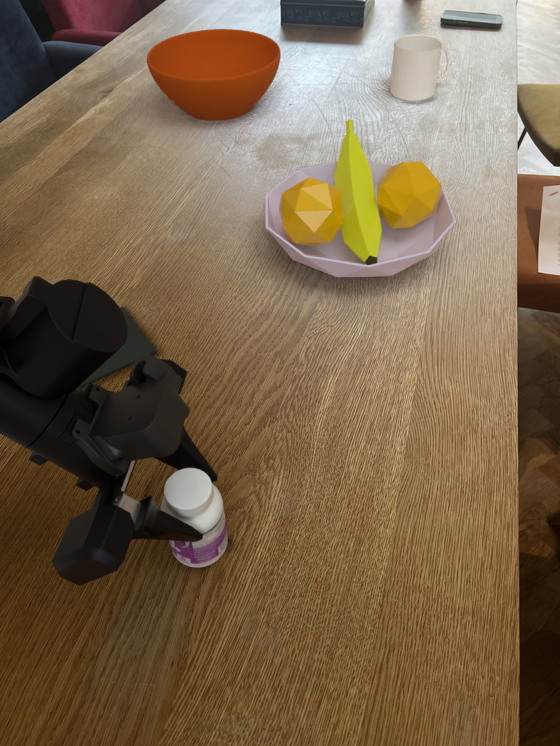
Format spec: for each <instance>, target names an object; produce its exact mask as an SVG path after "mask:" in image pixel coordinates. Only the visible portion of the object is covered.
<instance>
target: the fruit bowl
mask: <svg viewBox="0 0 560 746" xmlns="http://www.w3.org/2000/svg"><path fill="white" fill-rule="evenodd" d="M345 130H346V134H345V135H344V136H343V140H342V144H341V147H340V151H339V155H338V159H337V161H332V162H328V163H322V164H317V165H313V166H308V167H302V168H298V169H296V170H295V171H294V172H292V173H291V174H290V175H289V176H287V177H286V178H284V179H283V180H281V182H279V183H278V184H277V185H275V186H274V187H273V188H271V189H270V190H269V191H267V192H266V193H265V194H264V195H265V197H264V198H265V229H266V230H267V231H268V232H269V234H270V235H271V236H272V237H273V238H274V239H275V240H276V242H277V244H279V245H280V246H281V248H282V249H283V250H284V251H285V253H286V254H287V255H288V257H290V259H291V260H292V261H294V262H297V263H299V264H302V265H305V266H306V267H309V268H311V269H313V270H314V269H315V270H317V271H319V272H322V273H325V274H327V275H329V276H331V277H334V278H361V277H362V278H366V277H367V278H370V277H373V278H374V277H392V276H394V275H396V274H398V273H400V272H402V271H404V270H406V269H408V268H409V267H412V266H414V265H415V264H418V263H419V262H421V261H424V260H425V259H427V258H429V257H430V256H433V255H434V254H435V253H437V250H438V249H439V248H440V246H441V244H442V243H443V241H444V240H445V239H446V237H447V236H448V234H450V231H451V230H452V228H454V226H455V224H456V223H457V219H456V217H455V214H454V211H453V209H452V206H451V204H450V201H449V199H448V195H447V193H446V190H445V188H444V187H442V184H441V182H440V181H439V180H438V178H437V177H436V176H435V175H434V173H433V172H432V171H431V170H430V169H429V168H428V166H427V165H426V163H424V161H403V162H400V163H398V164H397V163H396V164H391V163H381V162H374V161H369V160H368V158H367V156H366V154H365V151H364V149H363V147H362V144H361V142H360V140H359V138H358V136H357V133H355V131H354V119H347V120H345Z"/></svg>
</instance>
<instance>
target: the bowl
mask: <svg viewBox="0 0 560 746" xmlns="http://www.w3.org/2000/svg"><path fill="white" fill-rule="evenodd" d="M281 54H282V52H281V47H280V46H279V44H278V43H277V42H276V41H275V40H274V39H272V38H270V37H269V36H266V35H265V34H262V33H258V32H256V31H251V30H243V29H233V28H232V29H231V28H211V29H201V30H195V31H189V32H188V31H187V32H183V33H180V34H178V35H173V36H171V37H168V38H166V39H164V40H162V41H160V42H158V43H156V44H155V45H154V46H153V47H152V48H151V49H150V50H148V53H147V55H146V65H147V68H148V70H149V74H150V75H151V77H152V79H153V81H154V82H155V84H156V85H157V87H158V88H159V89H160V91H161V92H162V93H163V94H164V95H165V96H166V97H167V98H168V99H169V100H170V101H171V102H172V103H174V104H175V105H176V106H177V107H179V108H180V109H181V110H183V112H184V113H186V114H187V115H188V116H189V117H192V118H194V119H197V120H201V121H207V122H221V121H229V120H233V119H237V118H240V117H243V116H244V115H246V114H247V113H249V112H250V111H251V110H252V109H253V108H254V107H255V106H256V104H257V103H258V102H259V101H260V100H261V99H262V98H263V96H264V95H265V94H266V93H267V91H268V90H269V88H270V87H271V85H272V83H273V82H274V79H275V78H276V76H277V73H278V70H279V67H280V62H281V57H282V56H281Z"/></svg>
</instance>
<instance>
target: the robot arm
mask: <svg viewBox="0 0 560 746" xmlns="http://www.w3.org/2000/svg"><path fill="white" fill-rule="evenodd" d="M120 308H121V307H120V306H119V305H118V303H117V302H116V301H115V299H113V297H112V296H110V295H109V294H108V292H106V291H105V290H104V289H102V288H101V287H100V286H98V285H96V284H94V283H93V282H90V281H87V282H84V281H81V280H79V279H71V278H68V279H67V278H66V279H60V280H59V281H57V282H55V283H51V282H50V281H48V280H46V279H44V278H43V277H41V276H39V275H34V276H32V278H31V279H30V280H29V281H28V282H27V283H26V285H25V286H24V287H23V289H22V293H21V294H20V296H19V298H18V299H17V300H16V299H15V298H13V297H12V296H7V295H6V296H5V295H0V435H2V436H3V437H5V438H6V439H9V440H11V441H13V442H14V443H16V444H18V445H20V446H22V447H23V448H24V449H27V450H29V451H30V452H31V454H30V455H29V458H28V461H30V462H32V463H34V464H35V465H37V466H39V467H41V466H43V465H44V464H45V463H47V462H50V463H51V464H54V465H56V466H57V467H59V468H60V469H63V470H65V471H66V472H68V473H70V474H72V475H73V476H75V477H77V480H76V482H75V486H76V487H78V488H80V489H81V490H83V491H85V492H88V491H89V490H91V489H93V488H97V489H98V491H97V493H96V496H95V498H94V501H93V503H92V505H91V508H90V509H88V510H85V511H84V512H82V513H80V514H78V515H76V516H74V517H73V518H71V519H69V521H68V523H67V525H66V528H65V530H64V532H63V535H62V538H61V539H60V542H59V544H58V547H57V549H56V552H55V554H54V557H53V559H52V561H51V563H52V565H53V567H54V569H55V571H56V572H57V574H58V575H59V577H60V578H61V579H64V580H66V581H68V582H70V583H72V584H74V585H76V586H79V587H82V586H84V585H86V584H88V583H91V582H93V581H97V580H98V579H101V578H103V577H105V576H107V575H110V574H112V573H115V572H118V570H119V569H120V568H121V566H122V565H123V564H124V563H125V560H126V558H127V554H128V551H129V548H130V545H131V543H132V540H134V541H135V540H154V541H185V542H197V541H200V540H202V539H203V534H202V533H200V532H199V531H198V530H196V529H195V528H194V527H192V526H190V525H189V524H187V523H185V522H183V521H181V520H179V519H177V518H175V517H173V516H171V515H170V514H168V513H166V512H164V511H162V510H161V508H159V507H158V505H157V503H156V501H155V499H154V497H153V495H151V494H150V495H149V496H146V497H144V498H143V499H140V500H137V499H135V498H133V497H131V496H130V495H128V494H127V493H126V492H127V490H128V487H129V484H130V481H131V479H132V476H133V474H134V471H135V468H136V465H137V462H138V461H140V460H145V459H151V458H153V459H156V460H158V461H159V462H161V463H163V464H165V465H167V466H169V467H172V468H174V469H175V470H176V471H179V470H181V469H185V468H196V469H199V470H201V471H203V472H205V473H206V474H207V475H208V476H209V478H210V480H211V482H212V484H213V483H215V482H217V481H218V478H219V475H218V474H217V472H216V471H215V470H214V468H213V467H212V466H211V464H210V463H209V462H208V460H207V459H206V458H205V456H204V455H203V453H202V452H201V451H200V449H199V448H198V446H197V445H196V444H195V442H194V441H193V440H192V438H191V436H190V435H189V433H188V432H187V430H186V428H185V422H186V419H187V418H189V415H190V412H191V411H190V410H191V409H190V406H189V405H188V404H187V403H186V402H185V400H184V399H183V398H182V396H181V393H182V390H183V388H184V384H185V382H186V378H187V375H188V373H189V372H188V371H187V370H186V369H185V368H183V367H182V366H181V365H180V364H178V363H176V362H175V361H174V360H173V359H167V358H157V357H156V356H154V354H153V355H151V354H149V355H145V356H141V357H137V358H136V360H135V362H134V364H132V367H131V368H130V369H131V370H130V372H129V376H128V377H129V379H128V380H125V381H124V383H123V385H122V387H121V389H120V390H118V391H112V390H109V389H106V388H104V387H103V386H102V385H100V384H94V383H93V382H92V383H91V382H89V383H88V384H86V385H85V386H83V387H81V388H79V386H80V385H81V384H82V383H83V382H84V381H85V380H86V379H87V378H89V377H90V376H91V375H92V374H93V373H94V372H95V371H96V370H97V369H98V368H99V367H101V366H102V365H103V364H104V363H105V362H106V361H107V360H108V359H109V358H110V357H111V356H113V355H114V354H115V353H116V352H117V351H118V350H119V349H120V348H121V347H122V346H123V345H124V344H125V342H126V340H127V338H128V325H127V322H126V319H125V316H124V314H123V312H122V311H121V309H120Z"/></svg>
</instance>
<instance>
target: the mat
mask: <svg viewBox="0 0 560 746" xmlns="http://www.w3.org/2000/svg"><path fill="white" fill-rule="evenodd" d="M120 309H121V311H122V312H123V314H124V316H125V319H126V322H127V325H128V338H127V340H126V342H125V344H124V345H123V346H122V347H121V348H120V349H119V350H118V351H117V352H116V353H115V354H114V355H113V356H111V357H110V358H109V359H108V360H107V361H106V362H105V363H104V364H103V365H102V366H101V367H99V368H98V369H97V370H96V371H95V372H94V373H93V374H92V375H91V376H90V377H89V378H87V379H86V380H85V381H84V382H83V383H82V384H81V385H80V386H79V388H83V387H84V386H85V385H86V384H88V383H89V382H91V383H92V384H93V383H94V382H97V381H98V380H100V379H102V378H105V377H107V376H109V375H112V374H114V373H116V372H118V371H120V370H123V369H125V368H127V367H129V366H131V365H134V362H135V360H136V358H137V357H141V356H145V355H149V354H151V355H153V356H154V355H156V354H157V350H156V349H155V348H154V346H153V345H152V343H151V342H150V341H149V340H148V338H147V336H145V335H144V333H143V332H142V330H141V329H140V328H139V326H138V325H137V324H136V322H135V321H134V320H133V319H132V316H130V315H129V313H128V312H127V311H126V309H125V308H124V307H123V306H122V307H120Z"/></svg>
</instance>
